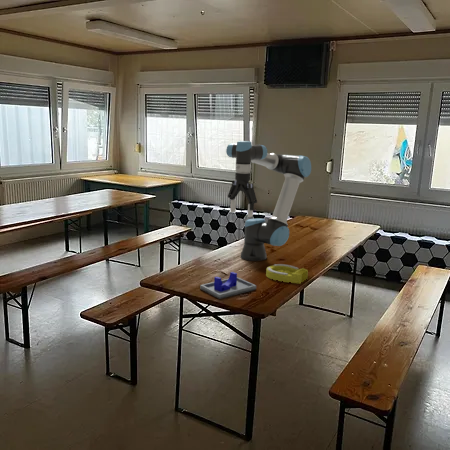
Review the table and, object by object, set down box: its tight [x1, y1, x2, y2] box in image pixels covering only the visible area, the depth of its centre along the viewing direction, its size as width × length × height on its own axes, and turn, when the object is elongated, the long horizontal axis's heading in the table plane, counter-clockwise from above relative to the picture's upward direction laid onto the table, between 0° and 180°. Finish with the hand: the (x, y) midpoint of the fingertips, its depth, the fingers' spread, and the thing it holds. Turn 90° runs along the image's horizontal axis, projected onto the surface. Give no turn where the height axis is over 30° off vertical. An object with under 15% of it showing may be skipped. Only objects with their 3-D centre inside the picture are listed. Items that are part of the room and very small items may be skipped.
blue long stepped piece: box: [213, 271, 238, 292], centre depth 214 cm, size 12×4×6 cm, turn 135°
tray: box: [199, 276, 257, 300], centre depth 215 cm, size 22×15×2 cm
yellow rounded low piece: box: [265, 263, 308, 284], centre depth 235 cm, size 16×21×5 cm
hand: (241, 214), depth 232 cm, fingers open, 13 cm apart
